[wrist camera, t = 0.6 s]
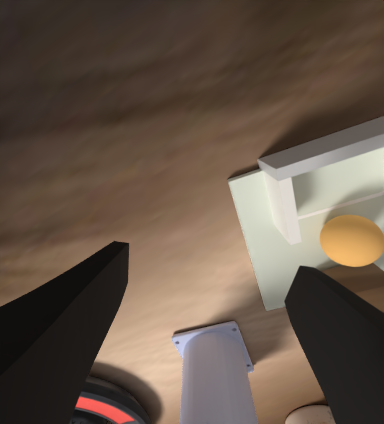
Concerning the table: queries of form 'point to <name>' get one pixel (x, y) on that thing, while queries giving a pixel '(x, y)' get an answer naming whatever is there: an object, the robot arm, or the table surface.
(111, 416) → the electronic game
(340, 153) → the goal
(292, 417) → the teacup with lid
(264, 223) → the board
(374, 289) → the notched wooden post
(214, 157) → the table surface
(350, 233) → the ball
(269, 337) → the table surface
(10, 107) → the table surface
